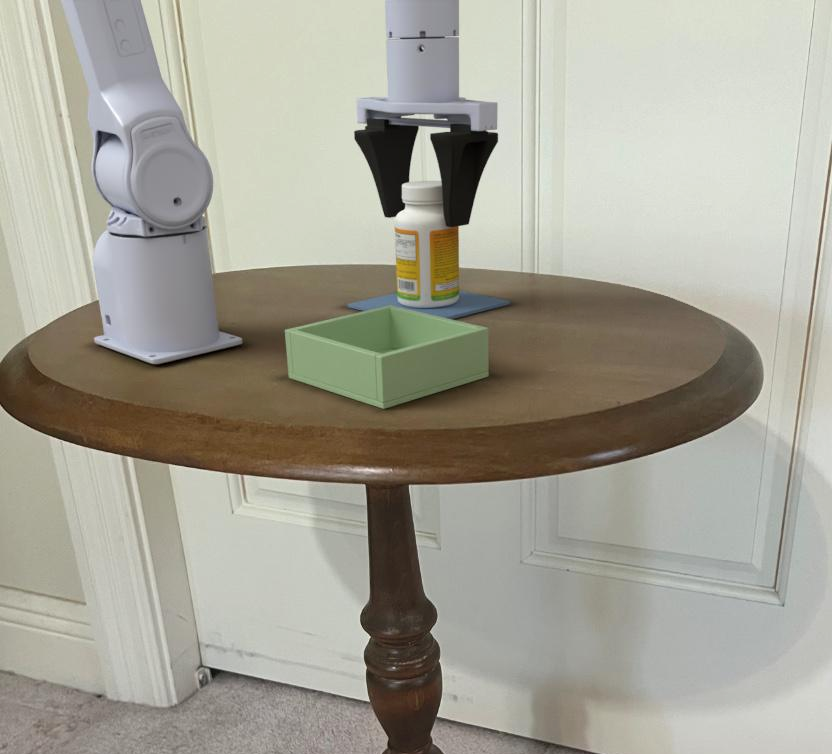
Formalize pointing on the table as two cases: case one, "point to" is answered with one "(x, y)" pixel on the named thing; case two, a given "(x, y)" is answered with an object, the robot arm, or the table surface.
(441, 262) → the supplement bottle
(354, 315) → the bin
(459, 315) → the mat
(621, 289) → the table surface
